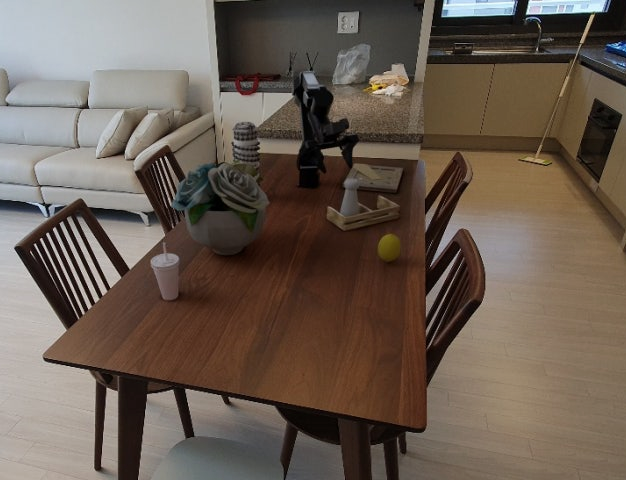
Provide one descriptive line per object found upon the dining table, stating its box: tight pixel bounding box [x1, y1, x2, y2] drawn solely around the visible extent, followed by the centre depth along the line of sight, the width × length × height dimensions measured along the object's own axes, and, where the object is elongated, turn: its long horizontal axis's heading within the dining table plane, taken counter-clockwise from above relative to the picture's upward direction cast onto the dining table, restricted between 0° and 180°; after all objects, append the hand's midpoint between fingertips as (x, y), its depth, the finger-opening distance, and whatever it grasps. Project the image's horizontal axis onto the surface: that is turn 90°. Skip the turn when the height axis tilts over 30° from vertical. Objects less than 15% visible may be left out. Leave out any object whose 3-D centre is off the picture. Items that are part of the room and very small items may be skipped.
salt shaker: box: [339, 178, 359, 224], centre depth 136 cm, size 6×6×13 cm
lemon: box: [377, 233, 402, 263], centre depth 116 cm, size 6×6×8 cm
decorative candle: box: [230, 121, 261, 189], centre depth 150 cm, size 9×9×25 cm
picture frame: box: [342, 162, 404, 194], centre depth 169 cm, size 19×2×24 cm
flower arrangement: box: [170, 160, 271, 256], centre depth 120 cm, size 25×25×24 cm
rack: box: [326, 195, 401, 232], centre depth 140 cm, size 10×20×4 cm, turn 114°
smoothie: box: [150, 242, 181, 301], centre depth 104 cm, size 6×6×14 cm
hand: (338, 170), depth 138 cm, fingers open, 9 cm apart
